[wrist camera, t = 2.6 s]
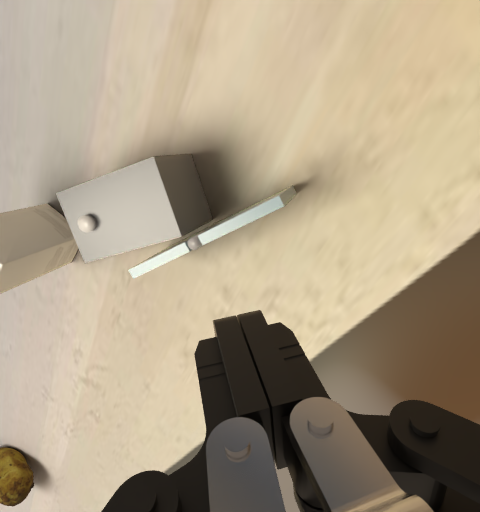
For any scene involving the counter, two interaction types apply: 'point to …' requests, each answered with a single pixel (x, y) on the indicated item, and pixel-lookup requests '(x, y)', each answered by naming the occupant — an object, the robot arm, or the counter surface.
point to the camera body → (135, 206)
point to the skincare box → (33, 244)
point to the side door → (216, 231)
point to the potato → (14, 477)
